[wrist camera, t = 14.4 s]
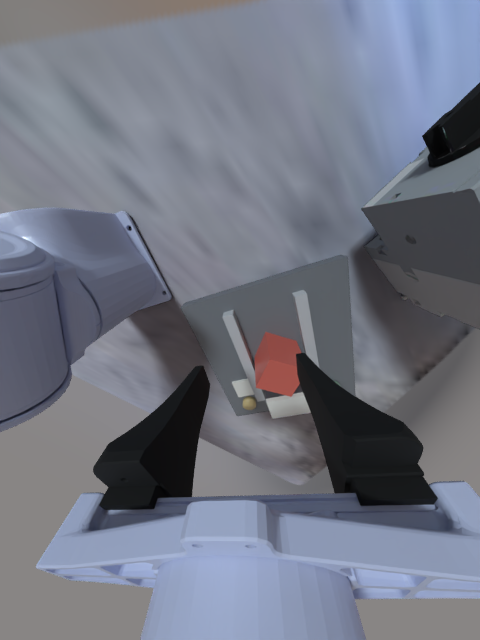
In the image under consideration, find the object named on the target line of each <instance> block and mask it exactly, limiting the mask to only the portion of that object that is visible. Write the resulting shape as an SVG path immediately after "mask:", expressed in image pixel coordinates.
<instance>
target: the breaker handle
mask: <svg viewBox="0 0 480 640" xmlns="http://www.w3.org/2000/svg"><path fill="white" fill-rule="evenodd" d="M265 394H266V403H267V406H268V408H269V411H270V414H271V416H272V419H275V418H282V417H288V416H294V415H301V414H307V413H311V411H310V409H309V406H308V404H307V401H306V399H305V396H304V394H303V391H302V389H301V386H300V384H299V386H298V387H297V389H296V390H295V392H294V393H293V395H292V396H291V397H290V396H286V395H282V394H278V393H274V392H271V391H267V390H265Z"/></svg>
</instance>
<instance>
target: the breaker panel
mask: <svg viewBox="0 0 480 640" xmlns="http://www.w3.org/2000/svg"><path fill="white" fill-rule="evenodd" d="M181 309H182V311H183V313H184V315H185V317H186V319H187V321H188V323H189V325H190V327H191V328H192V330H193V332H194V334H195V336H196V338H197V340H198V342H199V344H200V346H201V348H202V350H203V352H204V354H205V356H206V357H207V359H208V361H209V363H210V365H211V367H212V369H213V371H214V373H215V375H216V377H217V379H218V381H219V383H220V384H221V386H222V388H223V390H224V392H225V394H226V396H227V398H228V400H229V402H230V404H231V406H232V408H233V410H234V411H235V413H236V415H237V416H242V415H248V414H253V413H259V412H265V411H269V408H268V406H267V403H266V394H265V390H263V389H259V388H256V381H255V355H256V352H257V350H258V348H259V346H260V343H261V341H262V339H263V336H264V334H265V332H268V333H271V334H275V335H278V336H281V337H285V338H288V339H292V340H295V341H297V343H298V346H299V348H300V350H301V353H305V354H307V356H308V357H309V358H310V359H311V360H312V361H313V362H314V363H315V364H316V365H317V366H318V367H319V368H320V369H321V370H322V371H323V372H324V373H325V374H326V375H327V376H328V377H330V378H331V379H332V380H333V381H334V382H336V383H337V384H338V385H339V386H341V387H342V388H344V389H345V390H346V391H348V392H349V393H351V394H352V395H354V396H355V377H354V359H353V341H352V322H351V304H350V286H349V267H348V257H347V256H343V255H338V256H335V257H332V258H329V259H325V260H322V261H319V262H316V263H312V264H309V265H306V266H303V267H300V268H296V269H293V270H290V271H287V272H283V273H280V274H277V275H274V276H270V277H267V278H264V279H261V280H258V281H254V282H251V283H248V284H245V285H241V286H238V287H235V288H232V289H229V290H225V291H222V292H219V293H216V294H212V295H209V296H206V297H203V298H199V299H196V300H193V301H190V302H187V303H185V304H184V305H183V306H182V307H181Z"/></svg>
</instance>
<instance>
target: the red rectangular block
mask: <svg viewBox="0 0 480 640" xmlns="http://www.w3.org/2000/svg"><path fill="white" fill-rule="evenodd" d="M298 353H301V350H300V348H299V346H298V343H297V341H295V340H292V339H288V338H285V337H281V336H278V335H275V334H271V333H268V332H265V334H264V336H263V339H262V341H261V343H260V346H259V348H258V350H257V352H256V355H255V381H256V388H259V389H263V390H267V391H271V392H274V393H278V394H282V395H286V396H290V397H291V396H292V395H293V393H294V392H295V390H296V389H297V387H298V386H299V384H300V382H299V379H298V375H297V363H296V354H298Z"/></svg>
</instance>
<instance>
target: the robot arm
mask: <svg viewBox="0 0 480 640" xmlns="http://www.w3.org/2000/svg"><path fill="white" fill-rule="evenodd" d="M129 226H131V228H132V230H131V231H130V230H129ZM163 291H165V292H166V294H164V292H163ZM171 298H172V296H171V294H170V292H169V290H168V288H167V286H166V284H165V282H164V280H163V278H162V276H161V275H160V273H159V271H158V269H157V267H156V265H155V263H154V261H153V259H152V257H151V256H150V254H149V252H148V250H147V248H146V246H145V244H144V242H143V240H142V238H141V237H140V235H139V233H138V231H137V229H136V227H135V225H134V223H133V221H132V219H131V217H130V216H129V214H128V213H127V212H124V211H120V212H118V213H115V214H112V213H103V212H94V211H85V210H75V209H66V208H34V209H24V210H17V211H12V212H7V213H3V214H0V432H2V431H4V430H7V429H9V428H12V427H14V426H17V425H18V424H21V423H23V422H25V421H27V420H29V419H31V418H32V417H34V416H36V415H38V414H39V413H41V412H43V411H44V410H45V409H47V408H48V407H50V406H51V405H52V404H53V403H54V402H55V401H57V400H58V399H59V398H60V397H61V396H62V394H63V393H64V392H65V391H66V389H67V388H68V386H69V384H70V381H71V377H72V372H71V366H70V365H72V364H73V363H74V362H76V361H77V360H78V359H80V358H81V357H82V356H83V355H84V351H85V349H86V347H88V346H89V345H90V344H92V343H93V342H94V341H96V340H97V339H98V338H100V337H101V336H103V335H104V334H105V333H107V332H108V331H109V330H111V329H112V328H114V327H115V326H116V325H118V324H119V323H120V322H122V321H123V320H124V319H126V318H127V317H129V316H130V315H131V314H133V313H134V312H135V311H138V310H141V309H144V308H147V307H150V306H153V305H156V304H160V303H163V302H166V301H169V300H170V299H171ZM296 363H297V375H298V379H299V382H300V386H301V389H302V391H303V394H304V396H305V399H306V401H307V404H308V406H309V409H310V411H311V414H312V416H313V419H314V422H315V425H316V428H317V432H318V435H319V438H320V442H321V445H322V449H323V452H324V456H325V459H326V463H327V466H328V469H329V473H330V477H331V481H332V485H333V488H334V492H335V493H333V494H293V495H254V496H218V497H217V496H216V497H192V488H193V477H194V468H195V460H196V452H197V445H198V439H199V433H200V428H201V424H202V420H203V416H204V412H205V409H206V405H207V401H208V397H209V389H210V383H209V380H208V378H207V375H206V372H205V370H204V367H203V366H196V367H195V368H194V369H193V370H192V371H191V373H190V374H189V375H188V376H187V378H186V379H185V380H184V381H183V382H182V383H181V385H180V386H179V387H178V388H177V389H176V390H175V391H174V392H173V393H172V395H171V396H170V397H169V398H168V399H167V400H166V401H165V402H164V403H163V404H162V405H160V406H159V407H158V408H157V409H156V410H155V411H154V412H152V413H151V414H150V415H149V416H148V417H146V418H145V419H144V420H143V421H141V422H140V423H139V424H138V425H136V426H135V427H133V428H132V429H131V430H129V431H128V432H126V433H125V434H123V435H122V436H120V437H118V438H117V439H115V440H114V441H112V442H111V443H109V444H108V446H107V447H106V449H105V450H104V452H103V453H102V455H101V456H100V458H99V459H98V461H97V462H96V464H95V466H94V468H93V472H94V474H95V475H96V477H97V478H99V479H100V480H101V481H102V482H103V483H104V484H105V485H107V486H108V487H109V488H108V490H107V491H106V493H105V494H103V493H82V494H81V495H80V497H79V498H78V500H77V502H76V503H75V505H74V506H73V508H72V510H71V511H70V513H69V514H68V516H67V517H66V519H65V521H64V522H63V524H62V526H61V527H60V529H59V530H58V532H57V533H56V535H55V536H54V538H53V540H52V541H51V543H50V544H49V546H48V548H47V549H46V551H45V552H44V554H43V555H42V557H41V559H40V560H39V562H38V563H37V565H36V568H37V569H40V570H43V571H45V572H48V573H51V574H54V575H57V576H60V577H63V578H66V579H68V580H72V581H89V582H102V583H113V584H121V585H132V586H140V587H149V588H154V590H153V593H152V597H151V601H150V605H149V609H148V612H147V616H146V619H145V624H144V627H143V631H142V635H141V639H140V640H366V638H365V634H364V630H363V627H362V623H361V620H360V617H359V613H358V610H357V606H356V602H355V599H420V598H469V599H472V598H473V599H480V497H479V496H478V494H477V493H476V492H475V491H474V490H473V489H472V488H471V486H470V485H469V484H468V483H467V482H464V481H449V482H434V483H431V484H429V485H428V483H427V482H426V480H425V479H424V478H423V476H424V472H423V471H422V470H421V468H420V467H419V465H418V464H417V463H418V461H419V459H420V457H421V455H422V452H423V445H422V443H421V442H420V441H419V440H418V438H417V437H416V436H415V435H414V434H413V432H412V431H411V430H410V429H409V428H408V427H407V426H406V425H405V424H404V423H403V422H401V421H400V420H397V419H395V418H393V417H391V416H389V415H387V414H385V413H383V412H381V411H379V410H377V409H375V408H374V407H372V406H370V405H368V404H367V403H365V402H363V401H362V400H360V399H358V398H357V397H355V396H354V395H352V394H351V393H349V392H348V391H346V390H345V389H344V388H342V387H341V386H339V385H338V384H337V383H336V382H334V381H333V380H332V379H331V378H330V377H328V376H327V375H326V374H325V373H324V372H323V371H322V370H321V369H320V368H319V367H318V366H317V365H316V364H315V363H314V362H313V361H312V360H311V359H310V358H309V357H308V356H307V354H305V353H298V354H296Z"/></svg>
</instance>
